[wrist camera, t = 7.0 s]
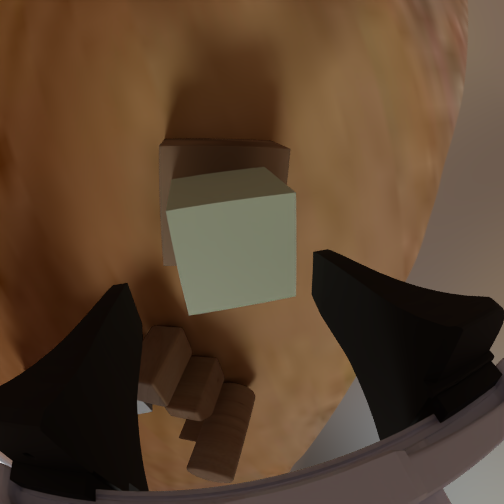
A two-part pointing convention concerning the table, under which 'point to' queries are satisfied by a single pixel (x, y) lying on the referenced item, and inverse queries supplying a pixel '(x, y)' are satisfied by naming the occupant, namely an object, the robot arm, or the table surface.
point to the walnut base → (212, 167)
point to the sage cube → (233, 238)
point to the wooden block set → (196, 401)
